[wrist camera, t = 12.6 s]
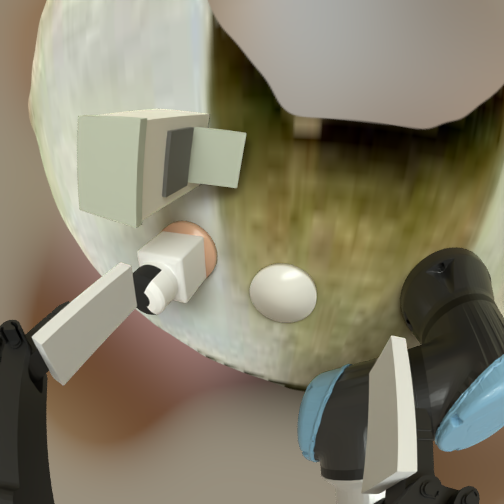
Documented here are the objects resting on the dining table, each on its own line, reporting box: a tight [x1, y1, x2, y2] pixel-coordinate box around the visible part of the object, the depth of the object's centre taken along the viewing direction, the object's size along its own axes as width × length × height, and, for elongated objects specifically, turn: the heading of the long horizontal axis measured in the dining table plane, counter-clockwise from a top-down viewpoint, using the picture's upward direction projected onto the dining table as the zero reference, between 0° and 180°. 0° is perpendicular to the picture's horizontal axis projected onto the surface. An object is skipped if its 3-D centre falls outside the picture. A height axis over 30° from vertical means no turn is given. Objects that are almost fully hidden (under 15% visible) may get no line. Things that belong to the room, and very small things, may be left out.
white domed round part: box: [250, 263, 317, 323], centre depth 42 cm, size 10×10×1 cm
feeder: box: [77, 109, 246, 228], centre depth 30 cm, size 14×10×15 cm
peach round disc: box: [162, 221, 217, 278], centre depth 44 cm, size 10×10×1 cm
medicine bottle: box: [133, 231, 206, 315], centre depth 38 cm, size 7×7×12 cm
